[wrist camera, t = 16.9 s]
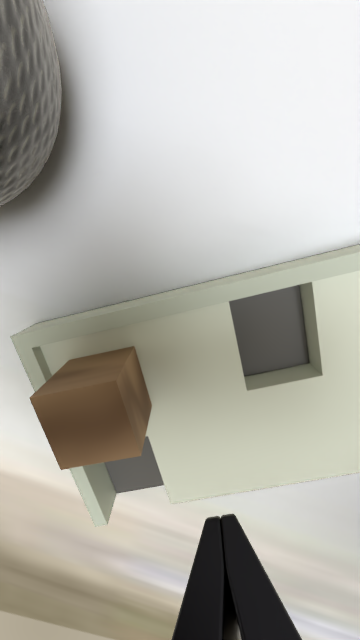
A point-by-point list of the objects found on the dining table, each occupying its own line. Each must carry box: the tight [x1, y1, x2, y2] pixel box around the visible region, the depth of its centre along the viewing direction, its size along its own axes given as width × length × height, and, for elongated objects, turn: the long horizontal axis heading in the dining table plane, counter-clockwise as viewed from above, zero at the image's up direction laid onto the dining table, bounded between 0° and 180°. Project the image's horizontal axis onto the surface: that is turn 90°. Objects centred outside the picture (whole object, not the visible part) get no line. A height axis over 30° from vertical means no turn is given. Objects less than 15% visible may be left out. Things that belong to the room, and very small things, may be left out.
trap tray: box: [11, 244, 360, 527], centre depth 18 cm, size 16×25×3 cm, turn 104°
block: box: [30, 346, 152, 470], centre depth 15 cm, size 4×4×4 cm
